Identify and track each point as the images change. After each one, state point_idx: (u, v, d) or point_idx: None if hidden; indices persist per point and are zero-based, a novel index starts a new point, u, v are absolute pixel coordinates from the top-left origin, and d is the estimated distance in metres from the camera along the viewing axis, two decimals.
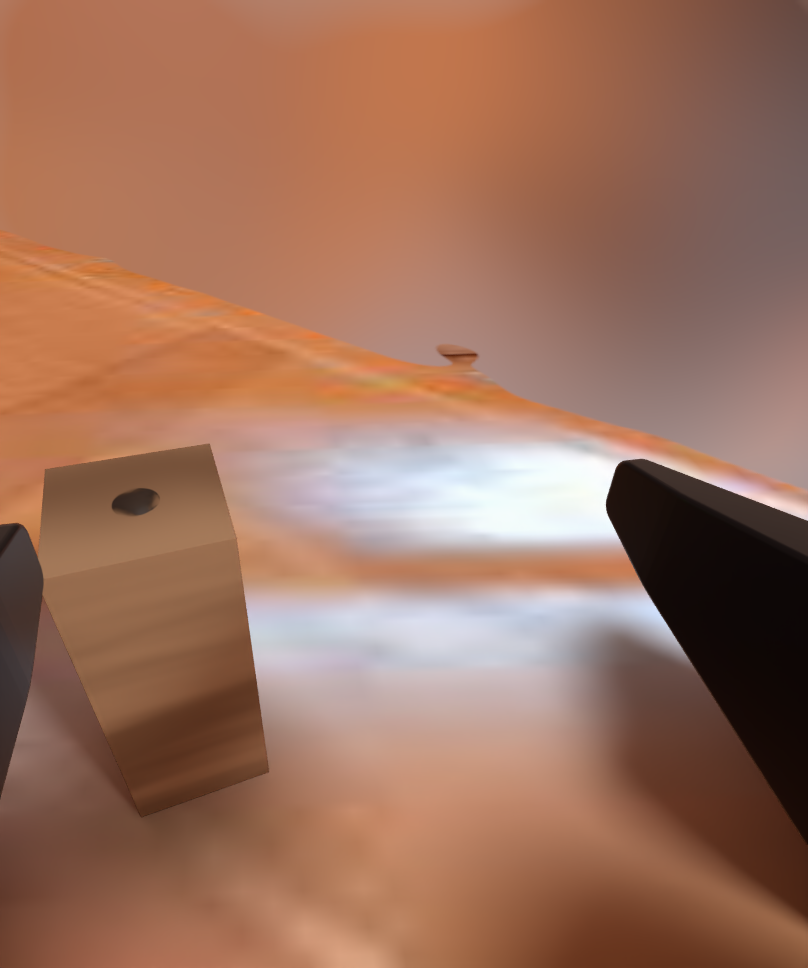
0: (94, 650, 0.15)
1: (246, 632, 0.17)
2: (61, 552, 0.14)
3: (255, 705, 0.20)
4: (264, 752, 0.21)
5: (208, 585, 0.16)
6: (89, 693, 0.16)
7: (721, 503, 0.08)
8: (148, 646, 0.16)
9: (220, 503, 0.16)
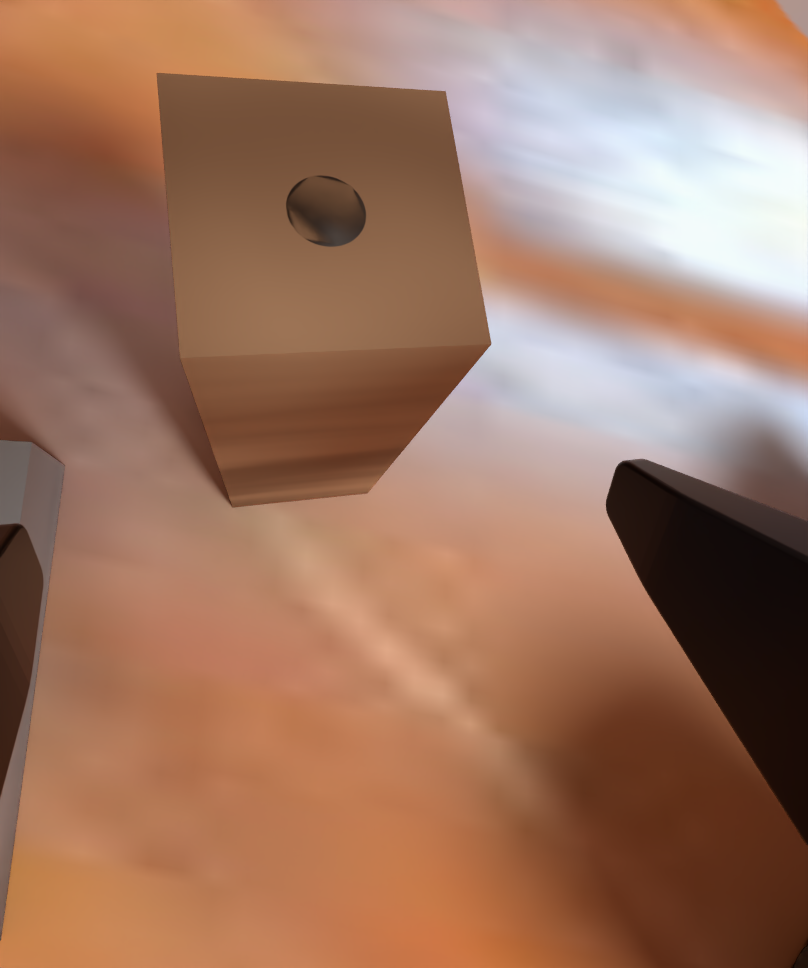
0: (235, 420, 0.11)
1: (424, 419, 0.13)
2: (213, 301, 0.08)
3: (387, 462, 0.16)
4: (372, 484, 0.19)
5: (413, 382, 0.10)
6: (213, 446, 0.12)
7: (721, 503, 0.08)
8: (303, 421, 0.11)
9: (465, 254, 0.09)
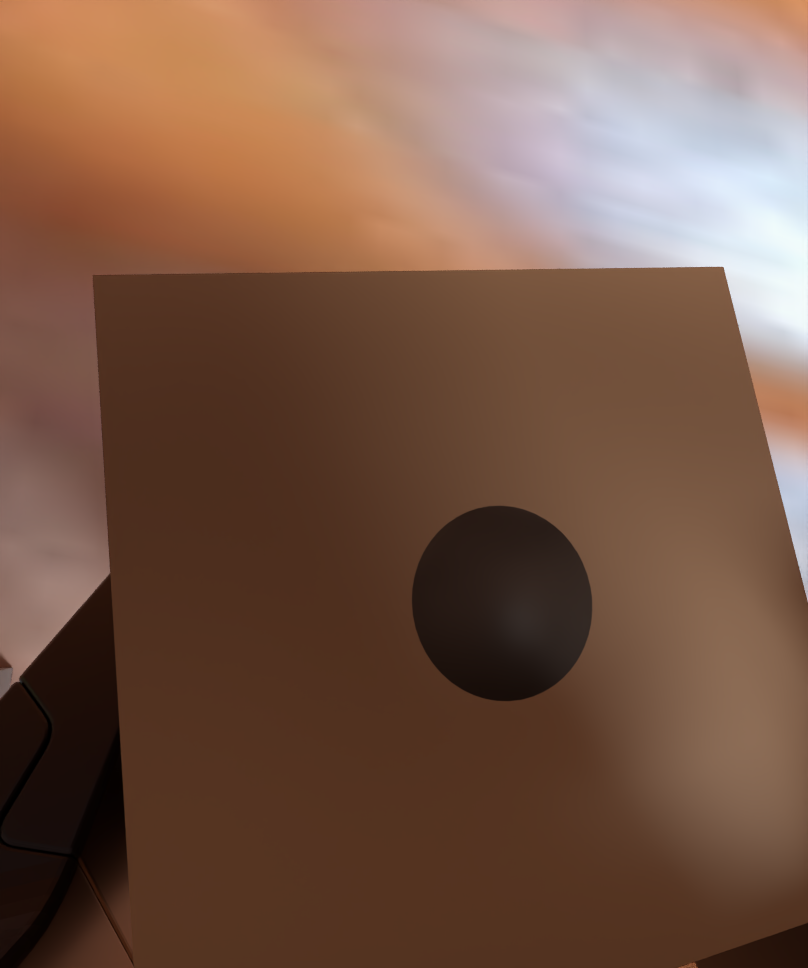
0: None
1: None
2: (240, 930, 0.03)
3: None
4: None
5: None
6: None
7: None
8: None
9: (803, 664, 0.04)
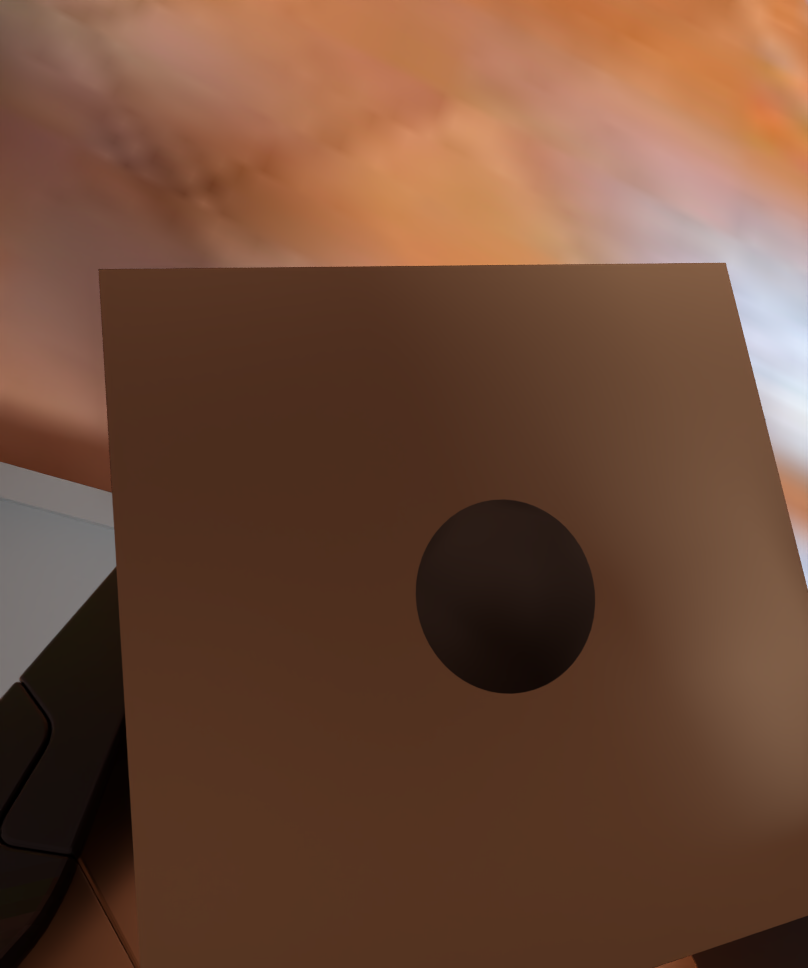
0: None
1: None
2: (245, 921, 0.03)
3: None
4: None
5: None
6: None
7: None
8: None
9: (805, 659, 0.04)
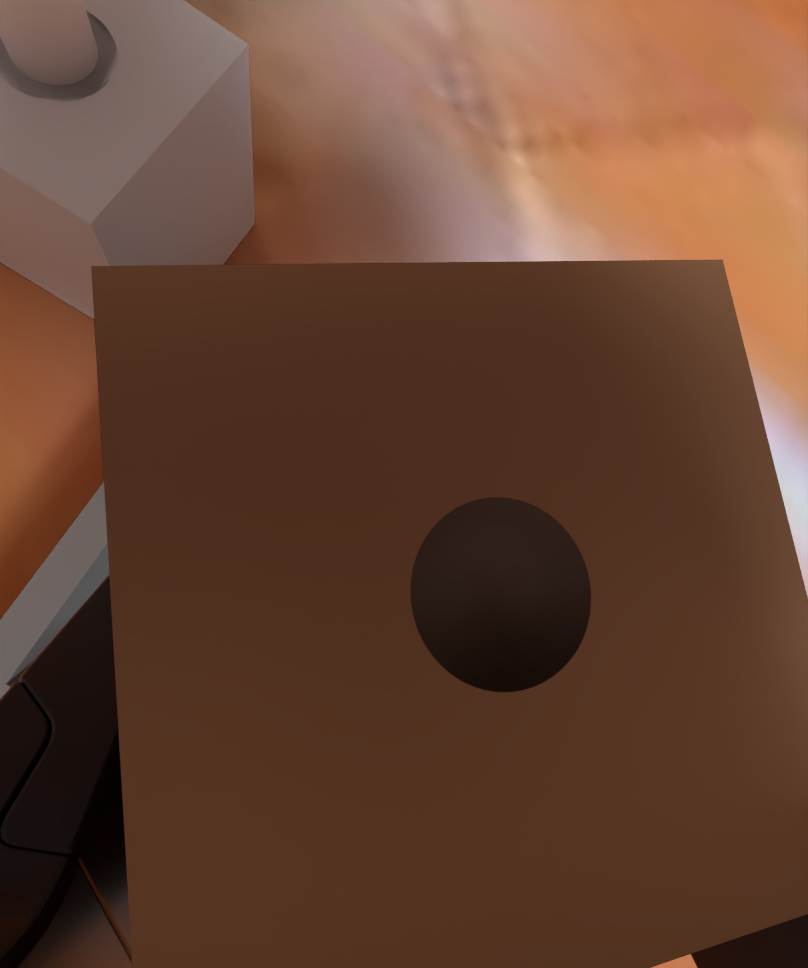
0: None
1: None
2: (238, 922, 0.03)
3: None
4: None
5: None
6: None
7: None
8: None
9: (801, 656, 0.04)
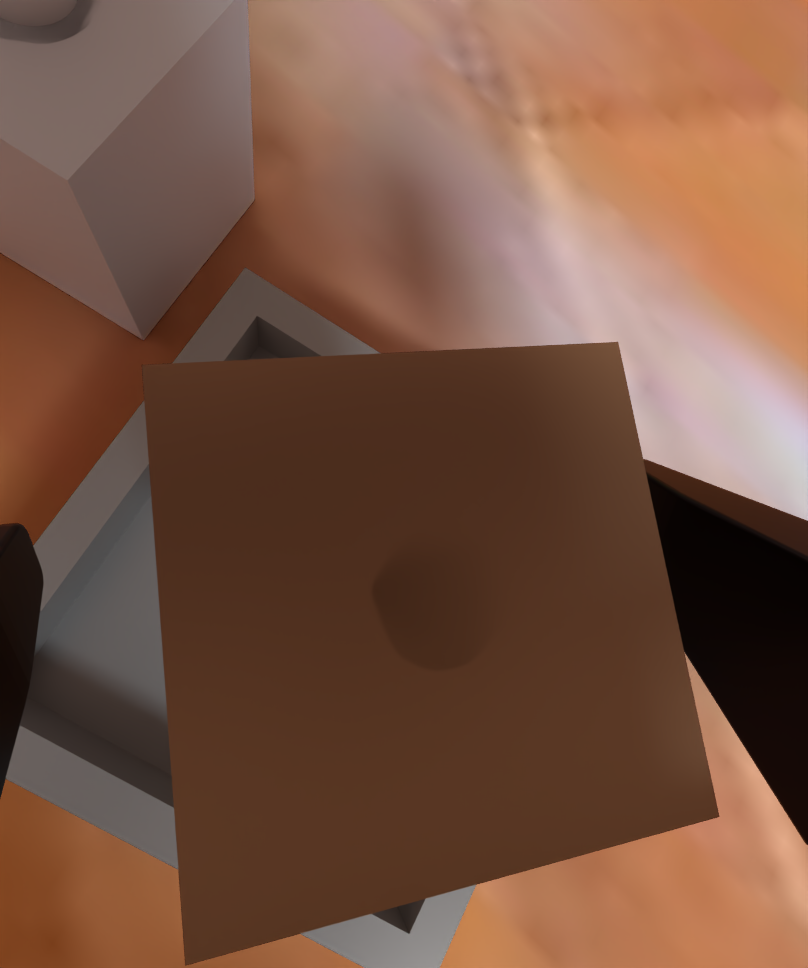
0: None
1: None
2: (249, 825, 0.04)
3: None
4: None
5: None
6: None
7: (721, 503, 0.08)
8: None
9: (666, 646, 0.05)
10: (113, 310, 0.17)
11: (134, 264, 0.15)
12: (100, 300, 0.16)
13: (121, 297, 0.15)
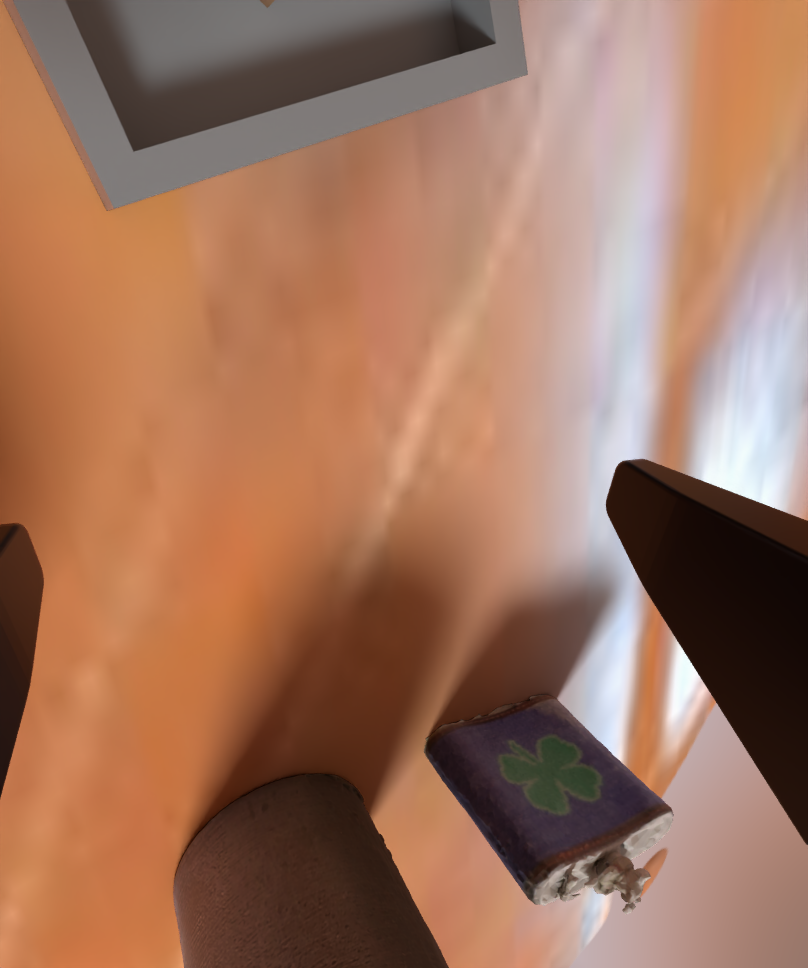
0: None
1: None
2: None
3: None
4: None
5: None
6: None
7: (721, 503, 0.08)
8: None
9: None
10: None
11: None
12: None
13: None
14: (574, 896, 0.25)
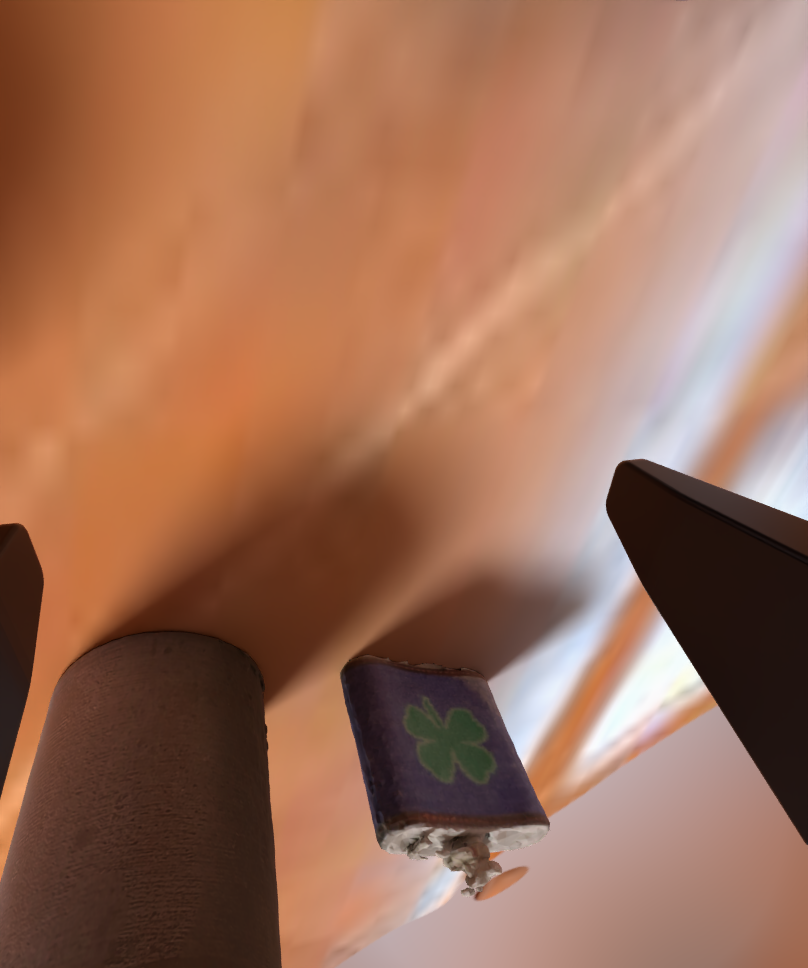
0: None
1: None
2: None
3: None
4: None
5: None
6: None
7: (721, 503, 0.08)
8: None
9: None
10: None
11: None
12: None
13: None
14: (421, 858, 0.25)
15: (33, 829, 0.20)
